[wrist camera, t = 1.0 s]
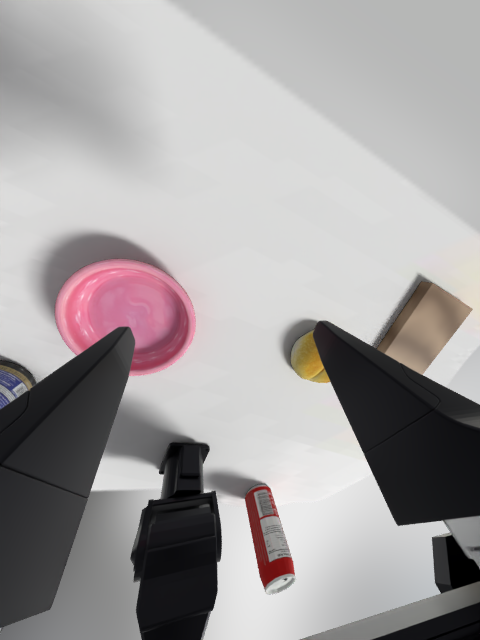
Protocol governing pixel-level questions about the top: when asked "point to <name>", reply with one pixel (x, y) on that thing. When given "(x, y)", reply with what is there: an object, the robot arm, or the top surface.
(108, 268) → the saucer
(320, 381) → the bread roll
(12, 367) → the pill bottle
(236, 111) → the top surface
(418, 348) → the walnut chopping board
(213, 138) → the top surface
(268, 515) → the soda can
